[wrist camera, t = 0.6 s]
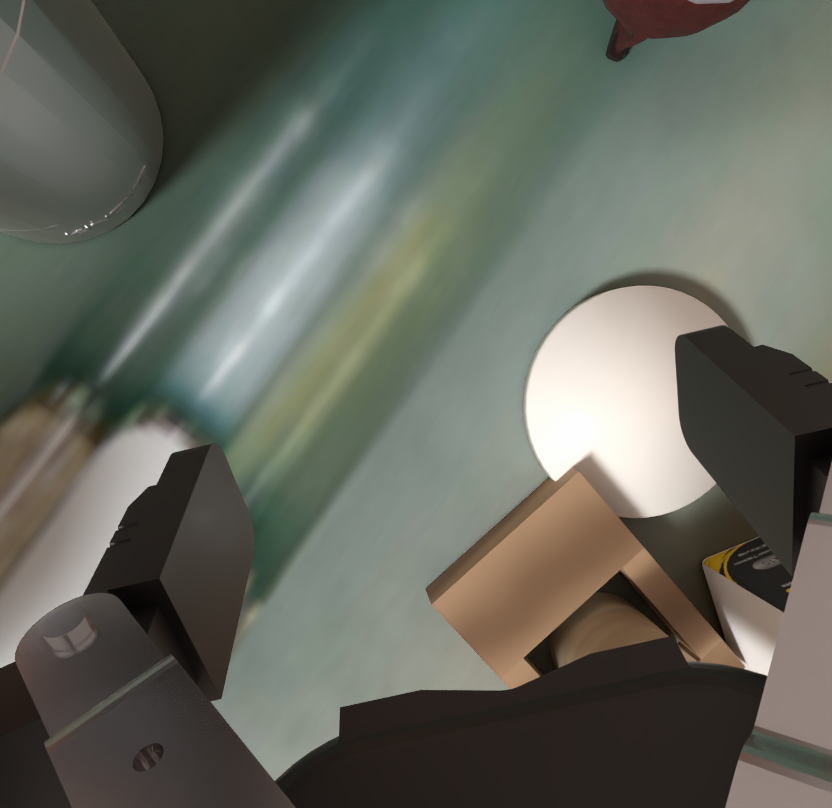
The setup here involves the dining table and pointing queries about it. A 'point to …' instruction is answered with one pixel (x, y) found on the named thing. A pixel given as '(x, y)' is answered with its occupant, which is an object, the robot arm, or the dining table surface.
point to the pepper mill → (602, 629)
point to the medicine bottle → (749, 600)
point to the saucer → (618, 399)
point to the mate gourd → (662, 20)
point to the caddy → (557, 580)
